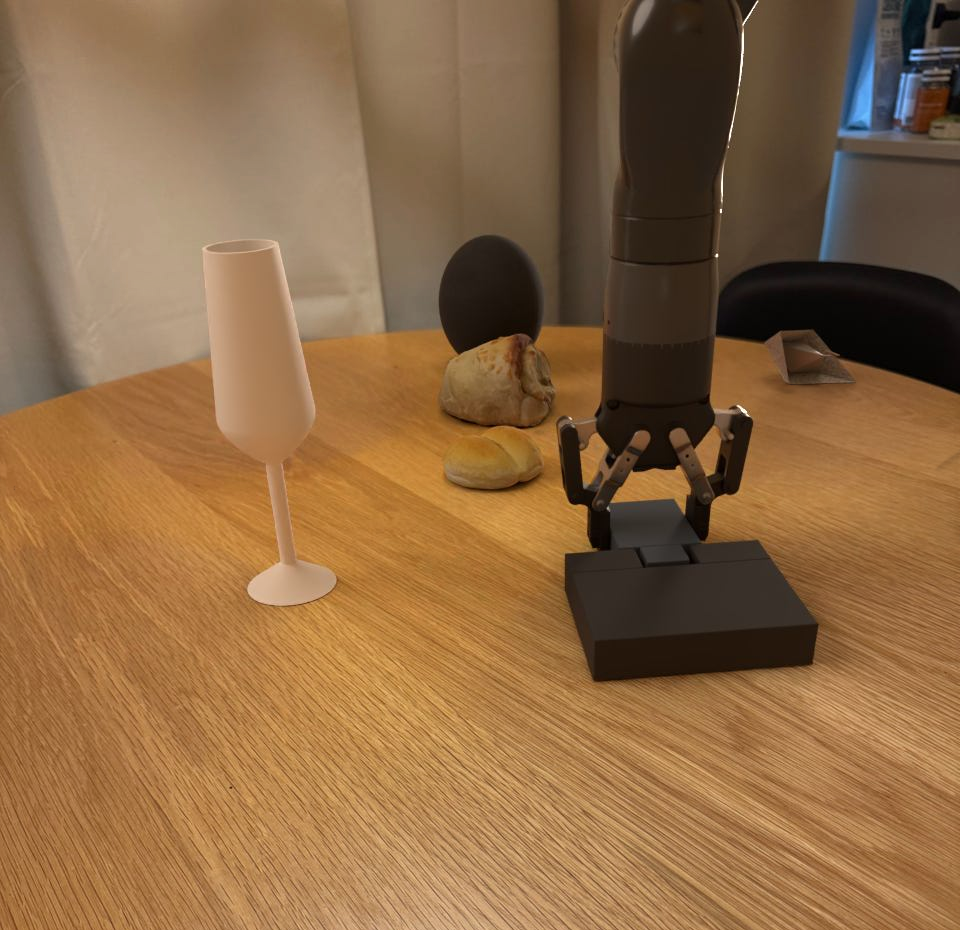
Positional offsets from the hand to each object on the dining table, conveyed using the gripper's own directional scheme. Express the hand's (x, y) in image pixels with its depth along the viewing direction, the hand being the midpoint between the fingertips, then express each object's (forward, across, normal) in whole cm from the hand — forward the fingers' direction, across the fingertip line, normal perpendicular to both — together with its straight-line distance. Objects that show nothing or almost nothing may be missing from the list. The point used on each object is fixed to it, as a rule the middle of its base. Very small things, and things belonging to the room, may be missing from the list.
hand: (647, 547), depth 76 cm
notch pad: (+1, 0, -10) cm, 10 cm away
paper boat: (+1, +26, +39) cm, 47 cm away
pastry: (+1, -8, +37) cm, 38 cm away
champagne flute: (+1, -27, 0) cm, 27 cm away
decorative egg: (+1, -7, +52) cm, 52 cm away
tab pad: (+1, 0, -1) cm, 2 cm away
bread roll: (+1, -10, +19) cm, 21 cm away
